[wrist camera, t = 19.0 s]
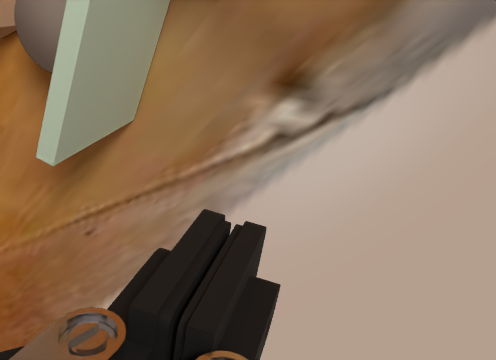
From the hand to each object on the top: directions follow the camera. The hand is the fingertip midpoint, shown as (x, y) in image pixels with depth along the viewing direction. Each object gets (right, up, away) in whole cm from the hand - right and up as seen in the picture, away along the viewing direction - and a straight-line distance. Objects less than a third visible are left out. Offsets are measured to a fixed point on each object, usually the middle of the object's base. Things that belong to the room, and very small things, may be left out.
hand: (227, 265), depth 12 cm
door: (-6, +13, +21) cm, 25 cm away
